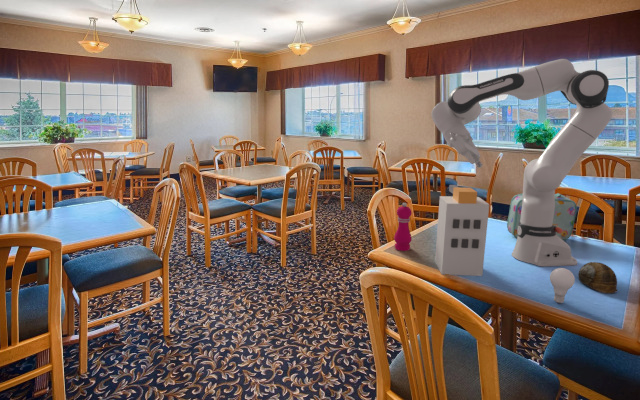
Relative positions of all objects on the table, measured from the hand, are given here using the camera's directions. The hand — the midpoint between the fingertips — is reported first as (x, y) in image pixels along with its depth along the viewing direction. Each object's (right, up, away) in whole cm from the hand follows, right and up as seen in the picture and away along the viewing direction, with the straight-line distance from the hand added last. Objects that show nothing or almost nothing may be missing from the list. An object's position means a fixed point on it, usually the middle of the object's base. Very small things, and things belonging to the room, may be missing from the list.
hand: (477, 164), depth 147 cm
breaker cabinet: (-9, -39, -5) cm, 40 cm away
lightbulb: (+12, -45, -30) cm, 55 cm away
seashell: (+32, -42, -19) cm, 56 cm away
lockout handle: (-9, -12, -5) cm, 16 cm away
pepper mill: (-25, -34, +16) cm, 46 cm away
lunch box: (+40, -31, +30) cm, 59 cm away
